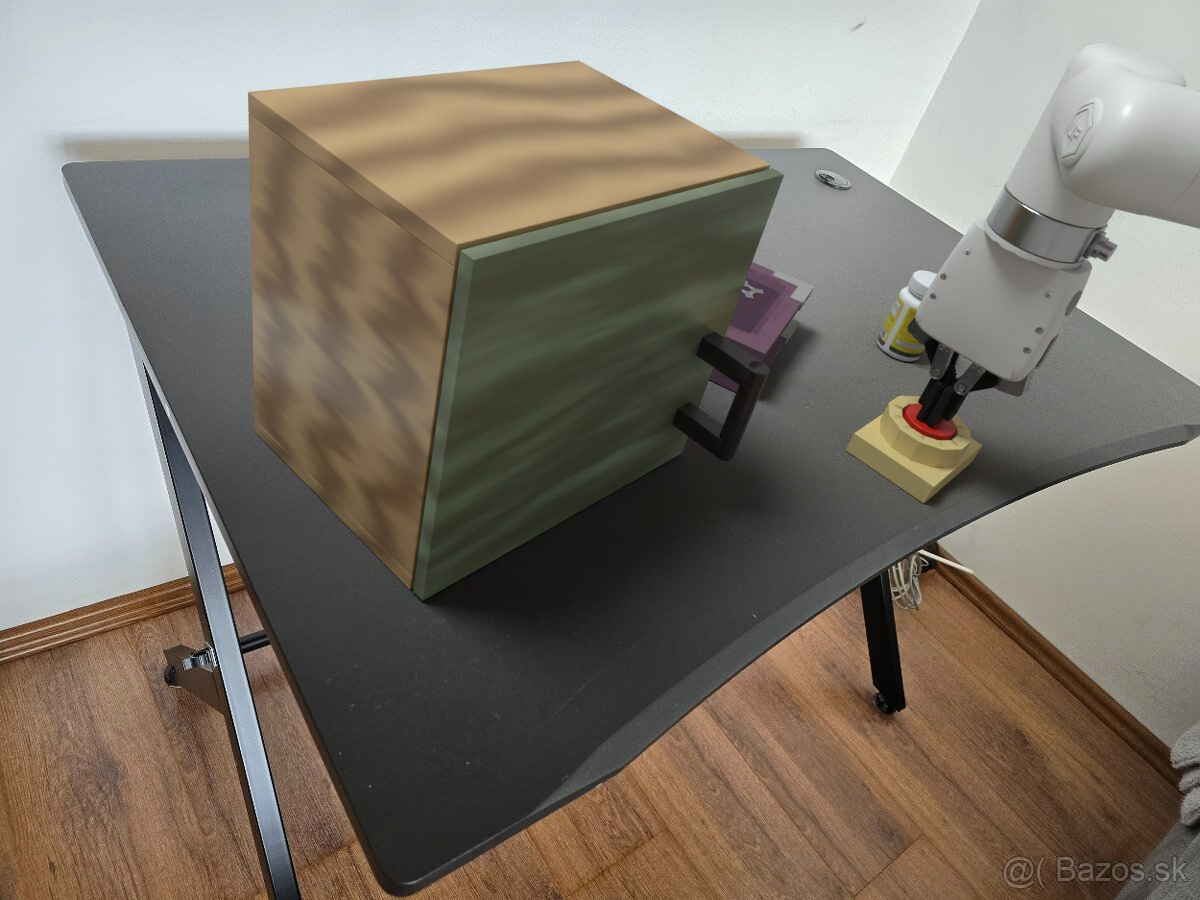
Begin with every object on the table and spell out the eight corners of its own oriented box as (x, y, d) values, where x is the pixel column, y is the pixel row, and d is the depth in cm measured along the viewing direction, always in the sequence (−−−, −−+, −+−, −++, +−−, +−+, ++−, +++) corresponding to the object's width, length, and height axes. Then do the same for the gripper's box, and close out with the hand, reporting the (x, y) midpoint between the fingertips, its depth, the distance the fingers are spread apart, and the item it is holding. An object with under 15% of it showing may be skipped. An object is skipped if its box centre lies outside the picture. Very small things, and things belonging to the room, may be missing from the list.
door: (732, 491, 72) (852, 211, 57) (477, 657, 55) (553, 317, 40) (673, 446, 75) (772, 167, 60) (412, 591, 57) (460, 249, 42)
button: (910, 415, 82) (920, 397, 81) (953, 442, 81) (964, 424, 79) (888, 431, 80) (898, 413, 78) (931, 460, 78) (942, 441, 76)
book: (796, 328, 95) (814, 286, 92) (748, 398, 83) (766, 353, 80) (583, 234, 100) (593, 192, 97) (509, 287, 88) (517, 241, 85)
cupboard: (670, 446, 75) (771, 164, 60) (409, 590, 57) (457, 244, 42) (523, 334, 82) (578, 59, 67) (254, 431, 65) (247, 91, 50)
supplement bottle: (928, 359, 96) (965, 290, 91) (898, 365, 94) (935, 295, 88) (896, 334, 99) (930, 265, 94) (866, 339, 96) (900, 269, 91)
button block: (897, 413, 86) (916, 380, 84) (972, 461, 83) (993, 428, 80) (845, 450, 80) (863, 414, 77) (923, 504, 76) (945, 468, 74)
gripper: (1153, 263, 67) (1025, 451, 78) (973, 174, 73) (879, 360, 85) (1122, 287, 62) (990, 484, 73) (932, 189, 68) (838, 385, 80)
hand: (931, 417), depth 79 cm, fingers closed
